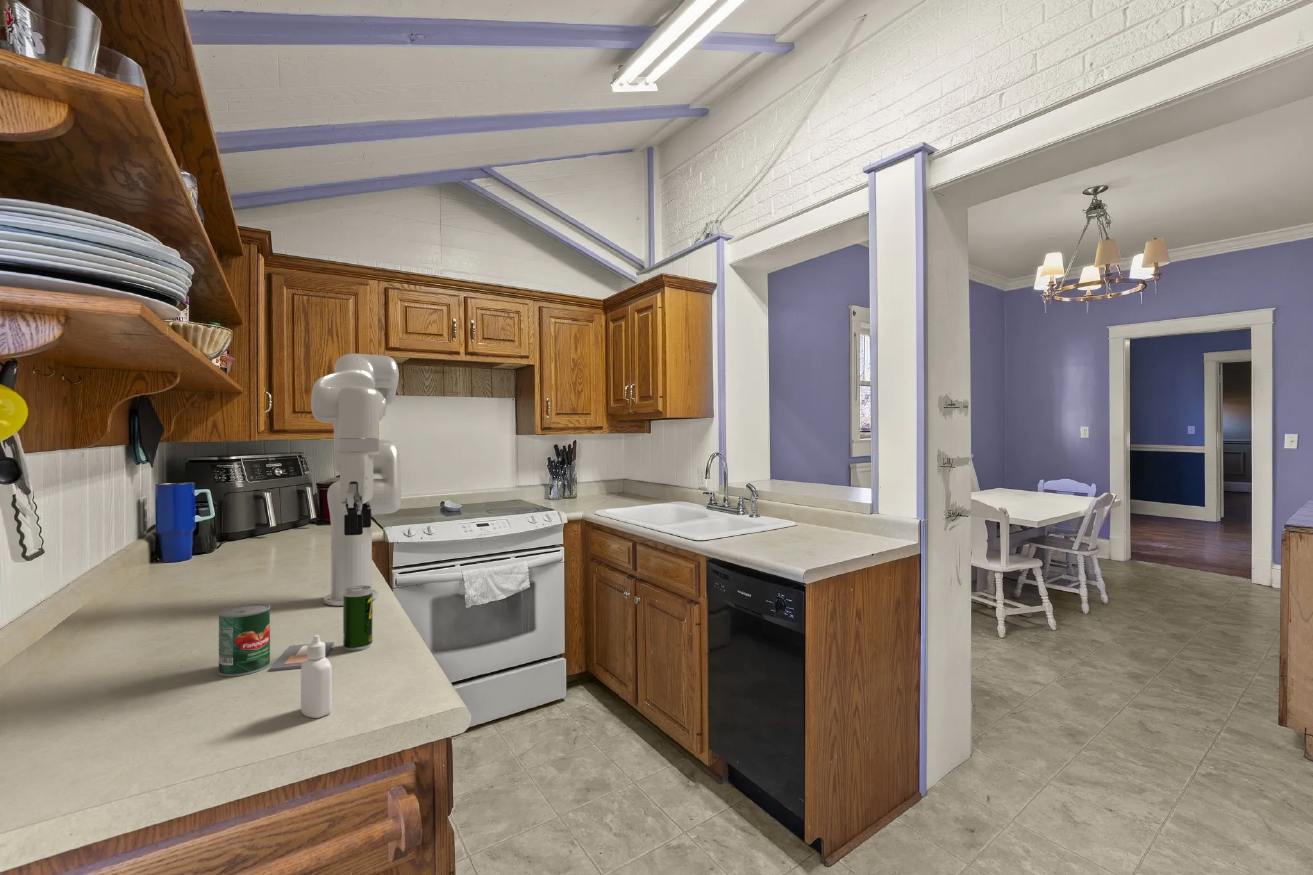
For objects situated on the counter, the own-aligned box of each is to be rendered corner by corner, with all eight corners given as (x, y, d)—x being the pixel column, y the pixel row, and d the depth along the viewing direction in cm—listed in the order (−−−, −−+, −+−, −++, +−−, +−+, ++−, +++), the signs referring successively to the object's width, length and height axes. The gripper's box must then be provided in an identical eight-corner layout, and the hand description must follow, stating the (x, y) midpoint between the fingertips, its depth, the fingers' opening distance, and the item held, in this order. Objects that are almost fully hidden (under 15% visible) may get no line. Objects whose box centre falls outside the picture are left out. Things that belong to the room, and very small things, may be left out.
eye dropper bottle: (332, 701, 95) (333, 628, 95) (331, 716, 90) (331, 639, 90) (301, 707, 93) (301, 632, 93) (298, 722, 88) (298, 643, 88)
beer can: (344, 653, 116) (344, 593, 116) (341, 645, 120) (342, 587, 120) (374, 648, 119) (374, 589, 119) (370, 640, 123) (370, 583, 123)
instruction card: (289, 648, 119) (289, 645, 119) (334, 644, 121) (334, 641, 121) (270, 671, 107) (270, 667, 107) (319, 666, 110) (319, 663, 110)
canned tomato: (234, 660, 112) (234, 603, 112) (278, 659, 113) (278, 602, 113) (208, 677, 104) (208, 616, 104) (255, 675, 105) (255, 615, 105)
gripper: (347, 446, 126) (346, 525, 126) (328, 448, 110) (327, 539, 110) (384, 446, 129) (384, 524, 129) (371, 448, 112) (371, 537, 112)
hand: (358, 531), depth 119 cm, fingers open, 9 cm apart
